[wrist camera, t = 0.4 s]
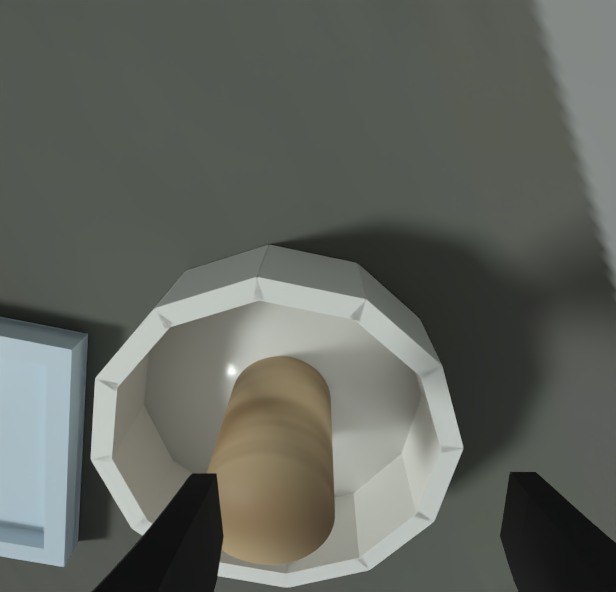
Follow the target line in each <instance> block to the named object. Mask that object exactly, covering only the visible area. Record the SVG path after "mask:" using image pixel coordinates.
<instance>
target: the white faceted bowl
mask: <svg viewBox="0 0 616 592" xmlns="http://www.w3.org/2000/svg"><path fill="white" fill-rule="evenodd" d="M276 356H284V357H291V358H295V359H298V360H301V361H304V362H305V363H307V364H309V365H311V366H312V367H313V368H315V369H316V370H317V371H318V372H319V373H320V374H321V375H322V377H323V378H324V380H325V381H326V383H327V385H328V388H329V391H330V397H331V421H332V447H333V473H334V499H335V521H334V525H333V528H332V531H331V533H330V535H329V537H328V538H327V540H326V541H325V542H324V543H323V544H322V545H321V546H320V547H319V548H318V549H317V550H316V551H314V552H313V553H311V554H310V555H308V556H306V557H304V558H302V559H299V560H296V561H293V562H289V563H284V564H274V565H265V564H256V563H251V562H246V561H243V560H240V559H237V558H235V557H233V556H231V555H229V554H227V553H225V552H224V551H222V550H221V557H220V563H219V569H218V575H217V576H221V577H227V578H233V579H239V580H245V581H250V582H256V583H262V584H268V585H274V586H280V587H286V588H287V587H288V588H289V587H293V586H298V585H303V584H307V583H312V582H317V581H321V580H326V579H331V578H335V577H340V576H345V575H349V574H354V573H359V572H363V571H368V570H370V569H372V568H373V567H374V566H376V565H377V564H378V563H380V562H381V561H382V560H384V559H385V558H386V557H388V556H389V555H390V554H392V553H393V552H394V551H396V550H397V549H398V548H400V547H401V546H402V545H404V544H405V543H406V542H408V541H409V540H410V539H412V538H413V537H414V536H416V535H417V534H418V533H420V532H421V531H422V530H424V529H425V528H426V527H428V526H429V525H430V524H432V523H433V522H434V521H435V518H436V516H437V513H438V511H439V508H440V506H441V503H442V501H443V498H444V496H445V493H446V491H447V488H448V486H449V483H450V481H451V478H452V476H453V473H454V471H455V468H456V466H457V463H458V461H459V459H460V456H461V454H462V451H463V444H462V440H461V436H460V433H459V429H458V425H457V421H456V417H455V413H454V409H453V405H452V402H451V398H450V394H449V390H448V386H447V382H446V378H445V374H444V371H443V367H442V364H441V362H440V360H439V358H438V356H437V354H436V352H435V350H434V348H433V346H432V343H431V341H430V339H429V337H428V335H427V333H426V331H425V329H424V327H423V325H422V323H421V320H420V319H419V318H418V317H417V316H416V315H415V314H414V313H413V312H412V311H411V310H410V309H408V308H407V307H406V306H405V305H404V304H403V303H402V302H401V301H399V300H398V299H397V298H396V297H395V296H394V295H393V294H392V293H390V292H389V291H388V290H387V289H386V288H385V287H384V286H383V285H382V284H380V283H379V282H378V281H377V280H376V279H375V278H374V277H373V276H371V275H370V274H369V273H368V272H367V271H366V270H365V269H364V268H362V267H361V266H360V265H359V264H357V263H355V262H350V261H346V260H341V259H336V258H331V257H327V256H322V255H317V254H312V253H307V252H303V251H298V250H293V249H288V248H284V247H279V246H274V245H266V246H262V247H259V248H256V249H253V250H250V251H247V252H243V253H240V254H237V255H234V256H231V257H227V258H224V259H221V260H218V261H215V262H212V263H208V264H205V265H202V266H199V267H196V268H193V269H189V270H186V271H185V272H184V273H183V274H182V276H181V277H180V278H179V279H178V280H177V281H176V283H175V284H174V285H173V286H172V287H171V288H170V290H169V291H168V292H167V293H166V294H165V296H164V297H163V298H162V299H161V300H160V301H159V303H158V304H157V305H156V306H155V307H154V309H153V310H152V311H151V312H150V313H149V314H148V316H147V317H146V318H145V319H144V320H143V322H142V323H141V324H140V325H139V326H138V327H137V329H136V330H135V331H134V332H133V333H132V335H131V336H130V337H129V338H128V339H127V341H126V342H125V343H124V344H123V345H122V347H121V348H120V349H119V350H118V351H117V353H116V354H115V355H114V356H113V357H112V359H111V360H110V361H109V362H108V363H107V365H106V366H105V367H104V368H103V369H102V371H101V372H100V373H99V374H98V375H97V377H96V378H95V389H94V407H93V425H92V442H91V461H92V463H93V464H94V466H95V468H96V469H97V471H98V473H99V474H100V476H101V478H102V479H103V481H104V483H105V484H106V486H107V488H108V490H109V491H110V493H111V495H112V496H113V498H114V500H115V501H116V503H117V505H118V506H119V508H120V510H121V511H122V513H123V515H124V516H125V518H126V520H127V521H128V523H129V525H130V526H131V528H133V530H135V531H136V532H138V533H139V534H141V535H144V533H145V532H146V531H147V530H148V529H149V527H150V526H151V525H152V524H153V523H154V521H155V520H156V519H157V518H158V516H159V515H160V514H161V513H162V511H163V510H164V509H165V507H166V506H167V505H168V504H169V502H170V501H171V500H172V498H173V497H174V496H175V494H176V493H177V492H178V490H179V489H180V488H181V486H182V485H183V484H184V482H185V481H186V480H187V478H188V477H189V476H190V475H191V474H192V473H207V470H208V467H209V464H210V461H211V458H212V454H213V451H214V448H215V445H216V441H217V438H218V435H219V432H220V428H221V425H222V422H223V419H224V416H225V412H226V409H227V406H228V403H229V399H230V396H231V393H232V390H233V387H234V384H235V382H236V380H237V378H238V376H239V375H240V374H241V373H242V371H243V370H244V369H246V368H247V367H248V366H249V365H251V364H252V363H254V362H256V361H258V360H261V359H264V358H268V357H276Z"/></svg>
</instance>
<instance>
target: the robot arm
mask: <svg viewBox="0 0 616 592" xmlns="http://www.w3.org/2000/svg"><path fill="white" fill-rule="evenodd" d="M223 537H224V535H223V526H222V517H221V509H220V500H219V491H218V482H217V473H192V474H191V475H190V476H189V477H188V478H187V480H186V481H185V482H184V484H183V485H182V486H181V488H180V489H179V490H178V492H177V493H176V494H175V496H174V497H173V498H172V500H171V501H170V502H169V504H168V505H167V506H166V507H165V509H164V510H163V511H162V513H161V514H160V515H159V516H158V518H157V519H156V520H155V521H154V523H153V524H152V525H151V526H150V527H149V529H148V530H147V531H146V532H145V533H144V535H143V536H142V537H141V538H140V540H139V541H138V542H137V543H136V544H135V545H134V547H133V548H132V549H131V550H130V551H129V552H128V553H127V554H126V555H125V557H124V558H123V559H122V560H121V561H120V562H119V563H118V564H117V565H116V567H115V568H114V569H113V570H112V571H111V572H110V573H109V574H108V575H107V576H106V577H105V578H104V579H103V580H102V582H101V583H100V584H99V585H98V586H97V587H96V588H95V589H94V590H93V591H92V592H214V588H215V584H216V581H217V575H218V569H219V563H220V557H221V550H222V544H223ZM500 537H501V541H502V544H503V547H504V551H505V554H506V557H507V561H508V564H509V567H510V570H511V573H512V576H513V579H514V582H515V584H516V586H517V589H518V591H519V592H616V543H615V542H614V541H613V540H612V539H610V538H609V537H608V536H607V535H606V534H604V533H603V532H602V531H601V530H600V529H599V528H598V527H596V526H595V525H594V524H593V523H592V522H591V521H590V520H588V519H587V518H586V517H585V516H584V515H583V514H582V513H581V512H579V511H578V510H577V509H576V508H575V507H574V506H573V505H572V504H571V503H569V502H568V501H567V500H566V499H565V498H564V497H563V496H562V495H561V494H559V493H558V492H557V491H556V490H555V489H554V488H553V487H552V486H551V485H550V484H548V483H547V482H546V481H545V480H544V479H543V478H542V477H541V476H539V475H538V474H537V473H536V472H510V475H509V482H508V488H507V495H506V501H505V508H504V514H503V521H502V528H501V534H500Z"/></svg>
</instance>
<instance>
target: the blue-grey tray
mask: <svg viewBox="0 0 616 592" xmlns="http://www.w3.org/2000/svg"><path fill="white" fill-rule="evenodd" d="M87 349H88V334H87V333H82V332H77V331H72V330H67V329H61V328H56V327H51V326H46V325H41V324H36V323H31V322H26V321H21V320H15V319H10V318H5V317H0V556H2V557H8V558H14V559H20V560H25V561H31V562H37V563H43V564H49V565H55V566H61V567H64V566H65V564H66V562H67V561H68V559H69V557H70V555H71V553H72V552H73V550H74V548H75V546H76V545H77V543H78V532H79V512H80V491H81V471H82V451H83V430H84V410H85V389H86V369H87Z"/></svg>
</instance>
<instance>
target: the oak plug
mask: <svg viewBox="0 0 616 592" xmlns="http://www.w3.org/2000/svg"><path fill="white" fill-rule="evenodd" d="M207 473H217V482H218V491H219V500H220V509H221V517H222V526H223V535H224V537H223V544H222V551H224V552H225V553H227V554H229V555H231V556H233V557H235V558H237V559H240V560H243V561H246V562H251V563H256V564H265V565H274V564H284V563H289V562H293V561H296V560H299V559H302V558H304V557H306V556H308V555H310V554H311V553H313V552H314V551H316V550H317V549H318V548H319V547H320V546H321V545H322V544H323V543H324V542H325V541H326V540H327V538H328V537H329V535H330V533H331V531H332V528H333V525H334V521H335V499H334V473H333V447H332V421H331V397H330V391H329V388H328V385H327V383H326V381H325V380H324V378H323V377H322V375H321V374H320V373H319V372H318V371H317V370H316V369H315V368H313V367H312V366H311V365H309V364H307V363H305V362H304V361H301V360H298V359H295V358H291V357H284V356H276V357H268V358H264V359H261V360H258V361H256V362H254V363H252V364H251V365H249V366H248V367H247V368H246V369H244V370H243V371H242V373H241V374H240V375H239V376H238V378H237V380H236V382H235V384H234V387H233V390H232V393H231V396H230V399H229V403H228V406H227V409H226V412H225V416H224V419H223V422H222V425H221V428H220V432H219V435H218V438H217V441H216V445H215V448H214V451H213V454H212V458H211V461H210V464H209V467H208V470H207Z"/></svg>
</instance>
